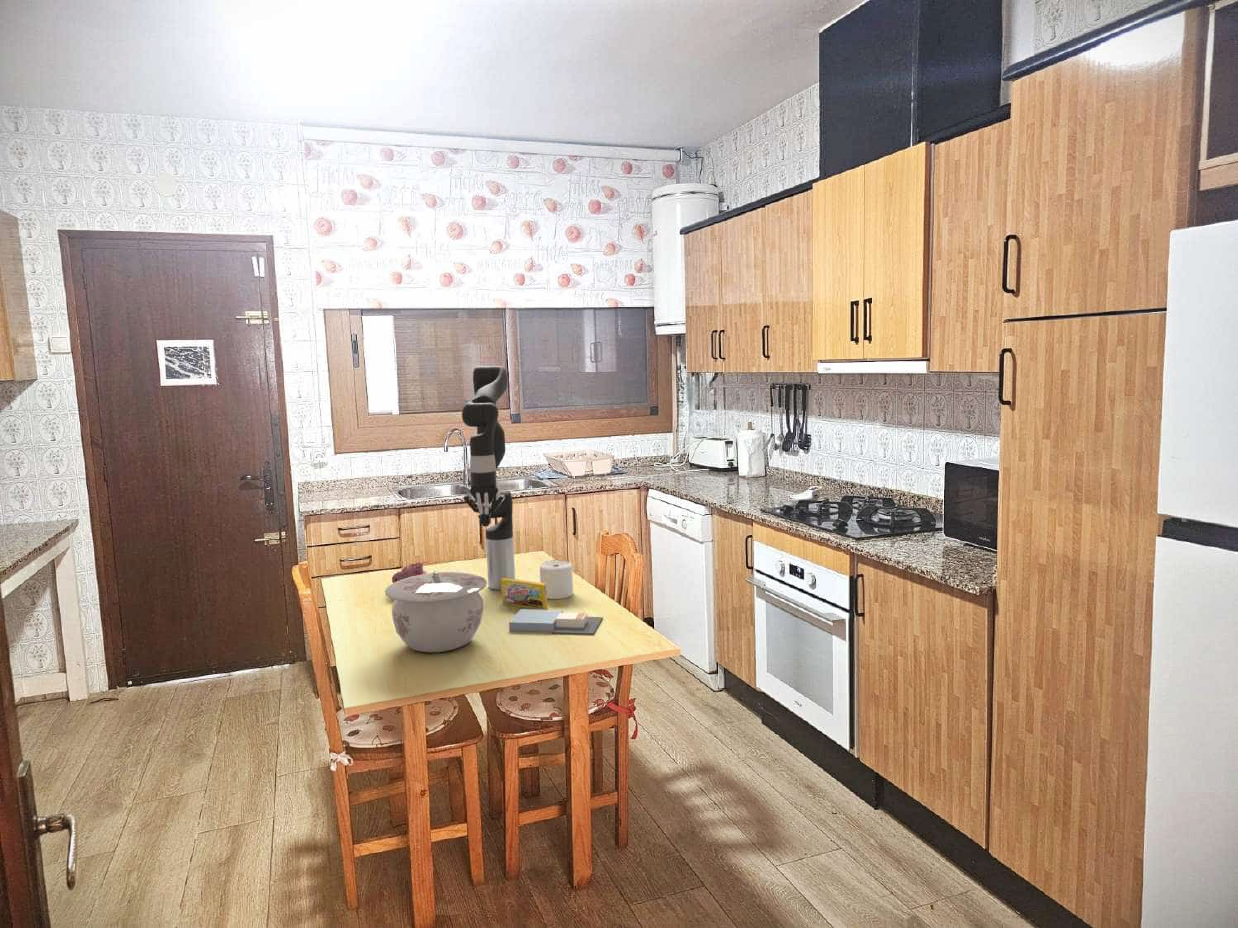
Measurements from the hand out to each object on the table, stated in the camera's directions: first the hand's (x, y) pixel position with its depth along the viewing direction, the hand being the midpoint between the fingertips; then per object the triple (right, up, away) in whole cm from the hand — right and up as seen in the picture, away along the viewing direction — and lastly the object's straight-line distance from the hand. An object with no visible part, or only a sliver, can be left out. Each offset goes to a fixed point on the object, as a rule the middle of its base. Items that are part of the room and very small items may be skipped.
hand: (485, 525), depth 245 cm
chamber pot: (-9, -31, -22) cm, 39 cm away
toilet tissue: (+20, -25, +22) cm, 38 cm away
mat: (+28, -28, -10) cm, 41 cm away
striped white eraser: (+27, -28, -10) cm, 40 cm away
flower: (-29, -25, +29) cm, 48 cm away
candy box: (+11, -26, +10) cm, 30 cm away
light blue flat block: (+16, -28, -8) cm, 34 cm away
